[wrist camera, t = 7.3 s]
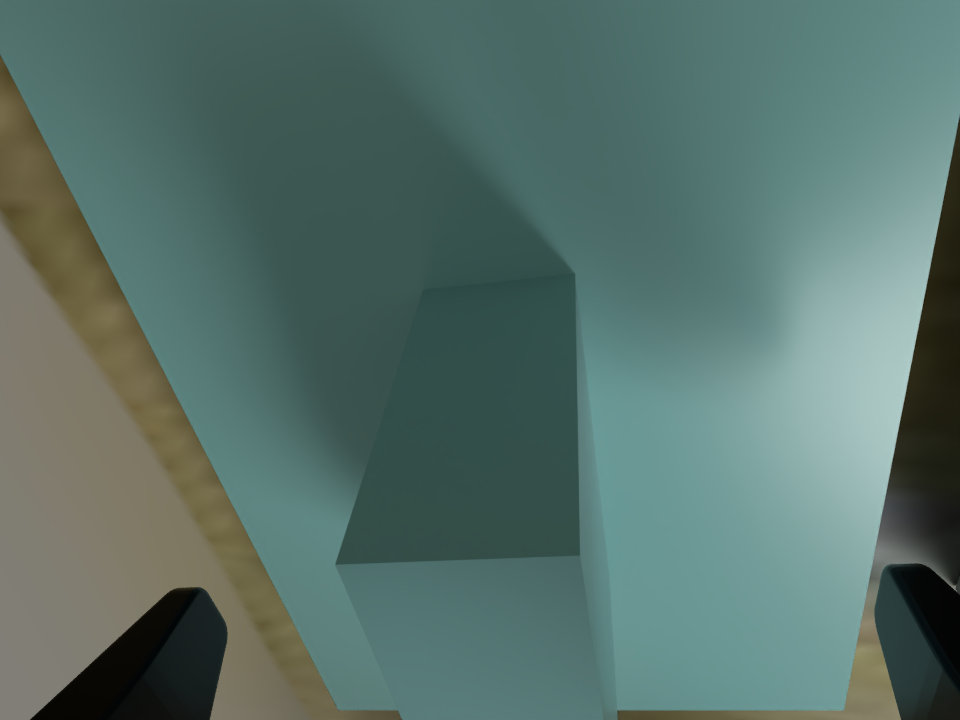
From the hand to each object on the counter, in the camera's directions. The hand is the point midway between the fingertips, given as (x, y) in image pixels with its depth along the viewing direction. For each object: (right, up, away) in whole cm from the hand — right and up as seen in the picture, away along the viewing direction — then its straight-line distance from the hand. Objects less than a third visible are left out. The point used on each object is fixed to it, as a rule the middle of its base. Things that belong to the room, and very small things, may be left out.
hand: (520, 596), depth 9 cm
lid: (0, +3, +4) cm, 5 cm away
